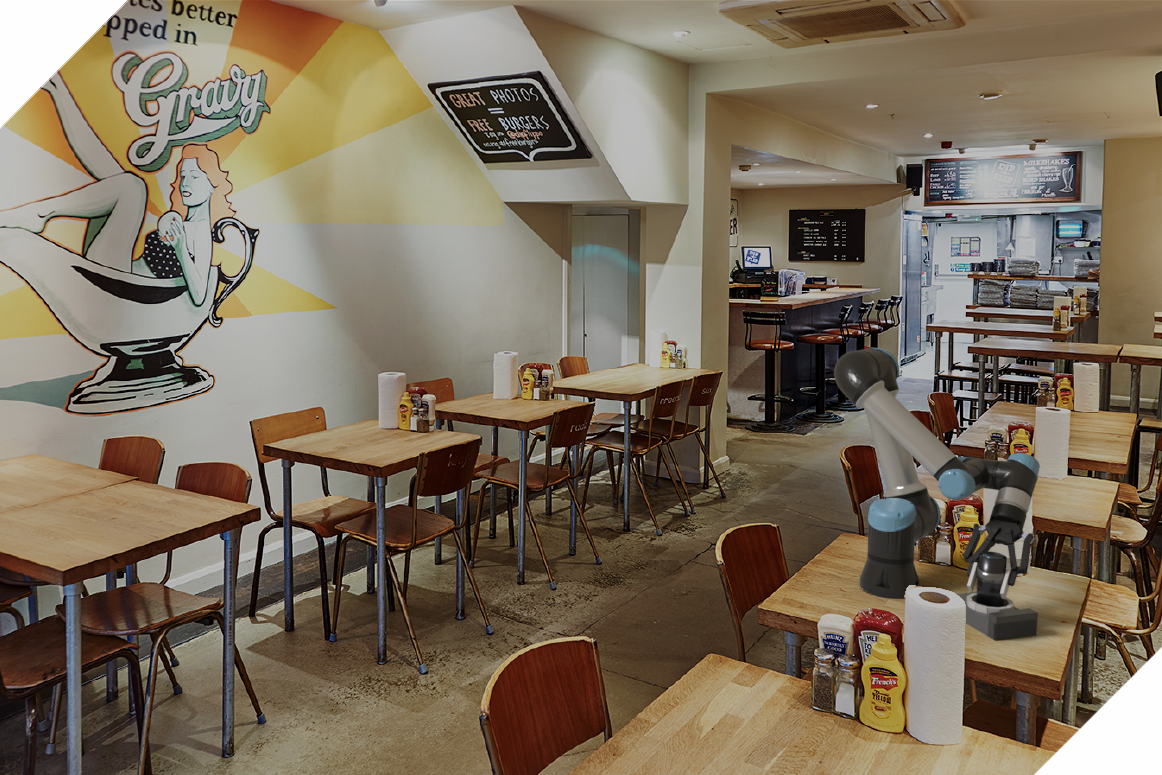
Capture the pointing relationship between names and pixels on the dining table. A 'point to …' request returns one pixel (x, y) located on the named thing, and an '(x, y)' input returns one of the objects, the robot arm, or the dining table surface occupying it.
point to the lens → (990, 578)
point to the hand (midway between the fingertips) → (985, 592)
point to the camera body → (1000, 619)
